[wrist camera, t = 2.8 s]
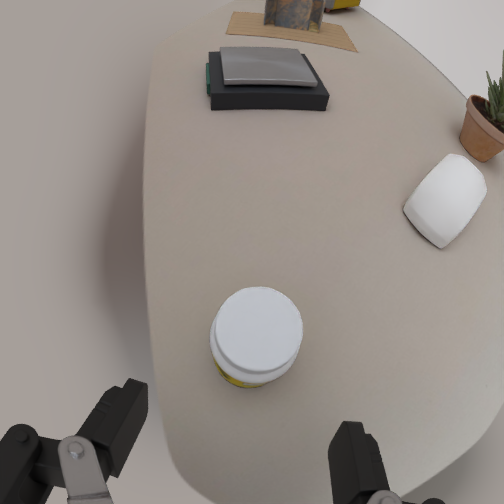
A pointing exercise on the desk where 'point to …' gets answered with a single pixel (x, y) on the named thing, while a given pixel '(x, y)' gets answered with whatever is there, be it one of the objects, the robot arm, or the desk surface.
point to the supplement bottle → (255, 336)
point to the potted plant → (485, 122)
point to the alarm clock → (340, 4)
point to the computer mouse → (446, 199)
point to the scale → (262, 92)
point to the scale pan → (265, 67)
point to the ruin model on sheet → (291, 23)
